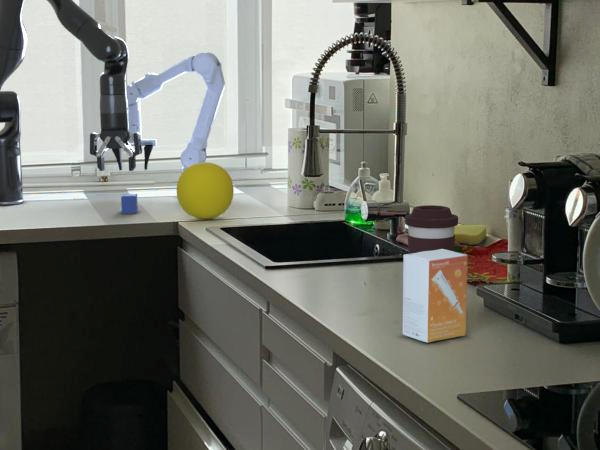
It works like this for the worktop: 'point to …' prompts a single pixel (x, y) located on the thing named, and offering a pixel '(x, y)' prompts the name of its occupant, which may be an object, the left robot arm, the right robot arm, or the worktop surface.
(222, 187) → the toy
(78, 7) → the left robot arm
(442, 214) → the coffee cup
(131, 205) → the block
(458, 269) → the small box
